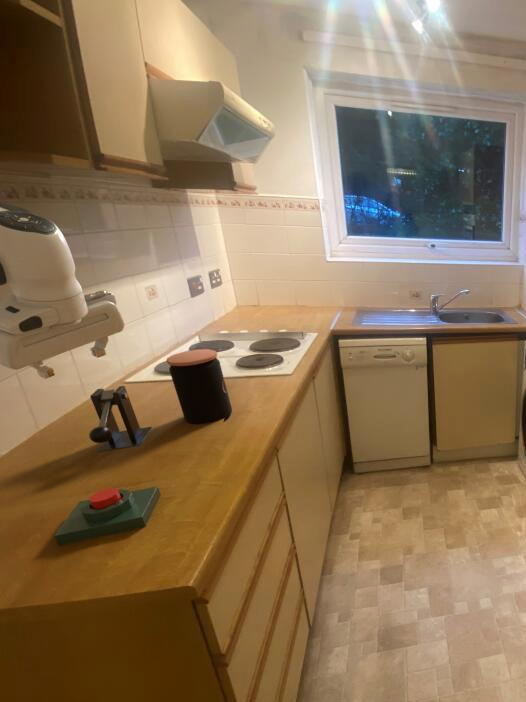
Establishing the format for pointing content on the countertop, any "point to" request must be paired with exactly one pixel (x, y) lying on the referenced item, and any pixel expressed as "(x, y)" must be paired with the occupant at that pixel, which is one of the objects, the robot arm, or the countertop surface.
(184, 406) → the coffee jar
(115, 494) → the button
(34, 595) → the countertop surface
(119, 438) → the bracket
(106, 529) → the button box
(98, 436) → the lever
